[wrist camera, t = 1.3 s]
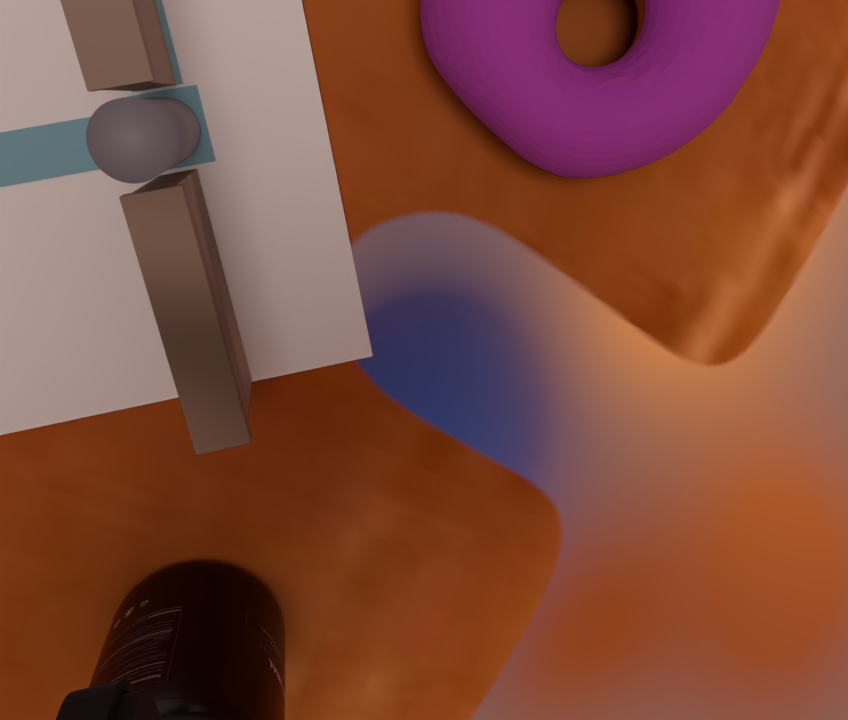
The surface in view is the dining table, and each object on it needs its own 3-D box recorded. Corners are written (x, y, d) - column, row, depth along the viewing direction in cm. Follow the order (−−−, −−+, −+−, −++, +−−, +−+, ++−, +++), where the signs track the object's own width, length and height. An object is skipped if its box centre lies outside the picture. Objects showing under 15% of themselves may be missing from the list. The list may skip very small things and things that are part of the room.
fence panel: (153, 176, 25) (118, 197, 20) (203, 167, 25) (181, 185, 20) (212, 389, 28) (196, 454, 23) (257, 379, 28) (250, 443, 23)
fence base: (371, 353, 29) (396, 428, 22) (-74, 447, 27) (-187, 558, 21) (249, -257, 22) (233, -402, 16) (-345, -180, 21) (-633, -306, 14)
